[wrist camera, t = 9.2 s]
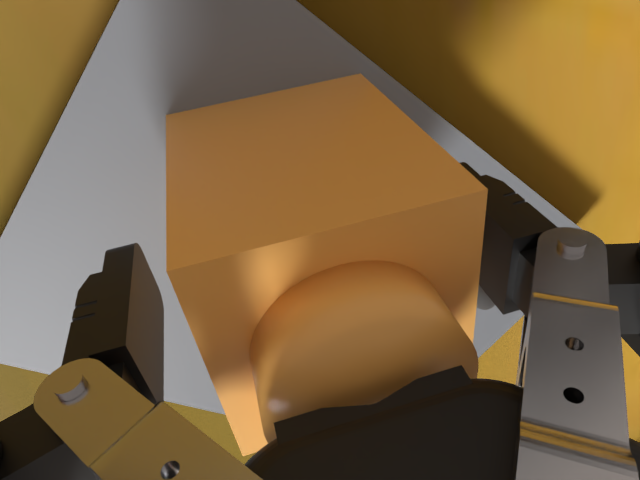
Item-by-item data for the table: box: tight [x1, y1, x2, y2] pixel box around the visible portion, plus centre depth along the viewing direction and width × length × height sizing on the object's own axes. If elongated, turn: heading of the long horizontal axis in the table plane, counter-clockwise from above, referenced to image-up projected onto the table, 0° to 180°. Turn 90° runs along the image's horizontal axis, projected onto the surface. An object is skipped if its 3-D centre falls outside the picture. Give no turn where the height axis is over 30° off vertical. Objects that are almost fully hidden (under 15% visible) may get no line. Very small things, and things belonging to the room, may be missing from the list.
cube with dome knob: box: [166, 73, 488, 456], centre depth 12 cm, size 6×6×8 cm
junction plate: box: [0, 0, 581, 415], centre depth 17 cm, size 20×15×6 cm
